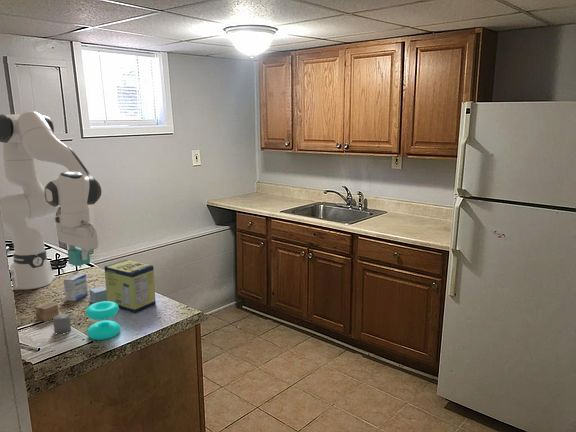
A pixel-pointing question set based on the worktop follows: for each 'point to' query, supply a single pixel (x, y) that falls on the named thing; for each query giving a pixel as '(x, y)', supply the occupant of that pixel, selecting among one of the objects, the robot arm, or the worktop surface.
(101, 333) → the donuts
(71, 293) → the medicine box
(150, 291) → the protein box
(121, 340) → the worktop surface
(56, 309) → the walnut block
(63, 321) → the charcoal cylinder
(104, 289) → the slate blue block
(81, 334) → the worktop surface
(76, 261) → the teal block
